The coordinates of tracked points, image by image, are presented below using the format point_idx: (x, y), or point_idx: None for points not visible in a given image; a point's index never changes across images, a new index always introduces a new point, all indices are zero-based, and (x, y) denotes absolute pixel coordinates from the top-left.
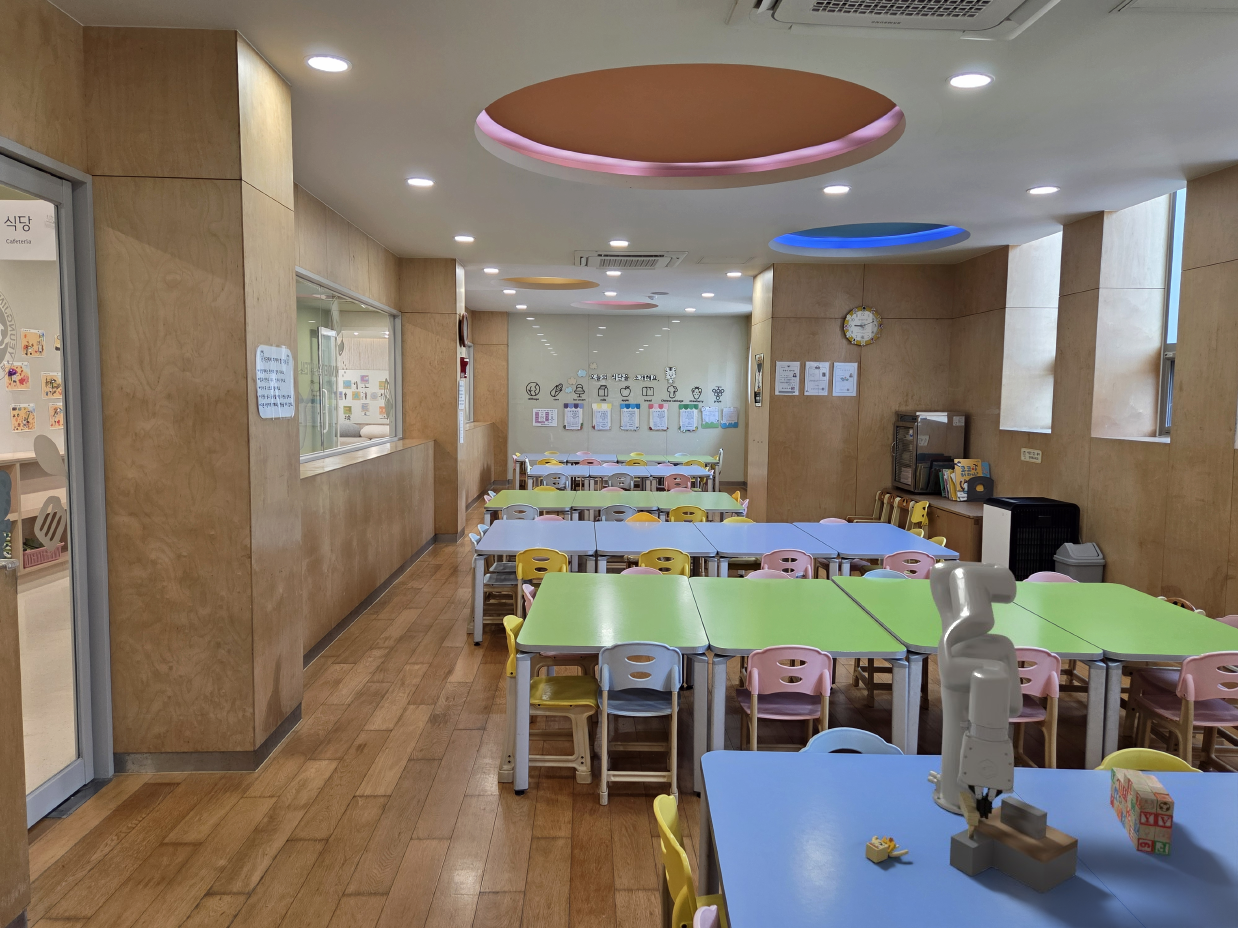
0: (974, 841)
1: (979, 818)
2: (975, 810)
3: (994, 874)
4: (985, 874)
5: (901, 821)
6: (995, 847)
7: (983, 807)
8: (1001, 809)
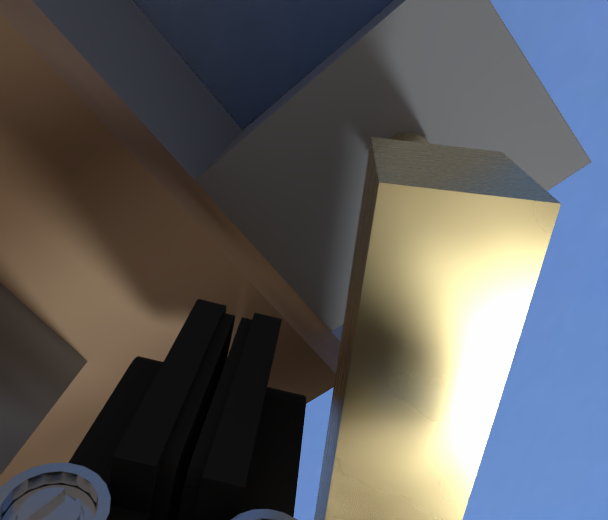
0: (393, 94)
1: None
2: (390, 285)
3: (255, 31)
4: (315, 21)
5: (598, 497)
6: (200, 148)
7: (226, 393)
8: (17, 442)
